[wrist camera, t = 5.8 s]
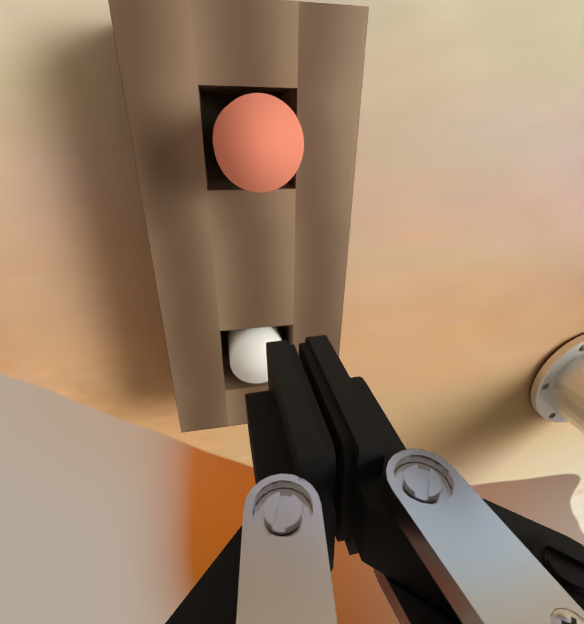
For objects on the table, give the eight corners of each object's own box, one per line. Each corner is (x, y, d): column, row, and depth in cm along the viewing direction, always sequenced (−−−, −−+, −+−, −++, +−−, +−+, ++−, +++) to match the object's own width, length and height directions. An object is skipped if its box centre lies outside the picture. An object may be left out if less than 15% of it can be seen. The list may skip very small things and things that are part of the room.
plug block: (332, 32, 23) (368, 6, 18) (315, 368, 35) (334, 412, 30) (131, 19, 21) (106, -14, 16) (185, 383, 33) (181, 432, 28)
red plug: (282, 100, 20) (305, 94, 16) (282, 176, 22) (302, 191, 18) (209, 98, 20) (209, 91, 15) (215, 177, 22) (217, 193, 17)
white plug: (274, 299, 30) (286, 333, 25) (274, 341, 32) (286, 380, 27) (224, 303, 29) (228, 338, 25) (228, 345, 31) (231, 386, 26)
